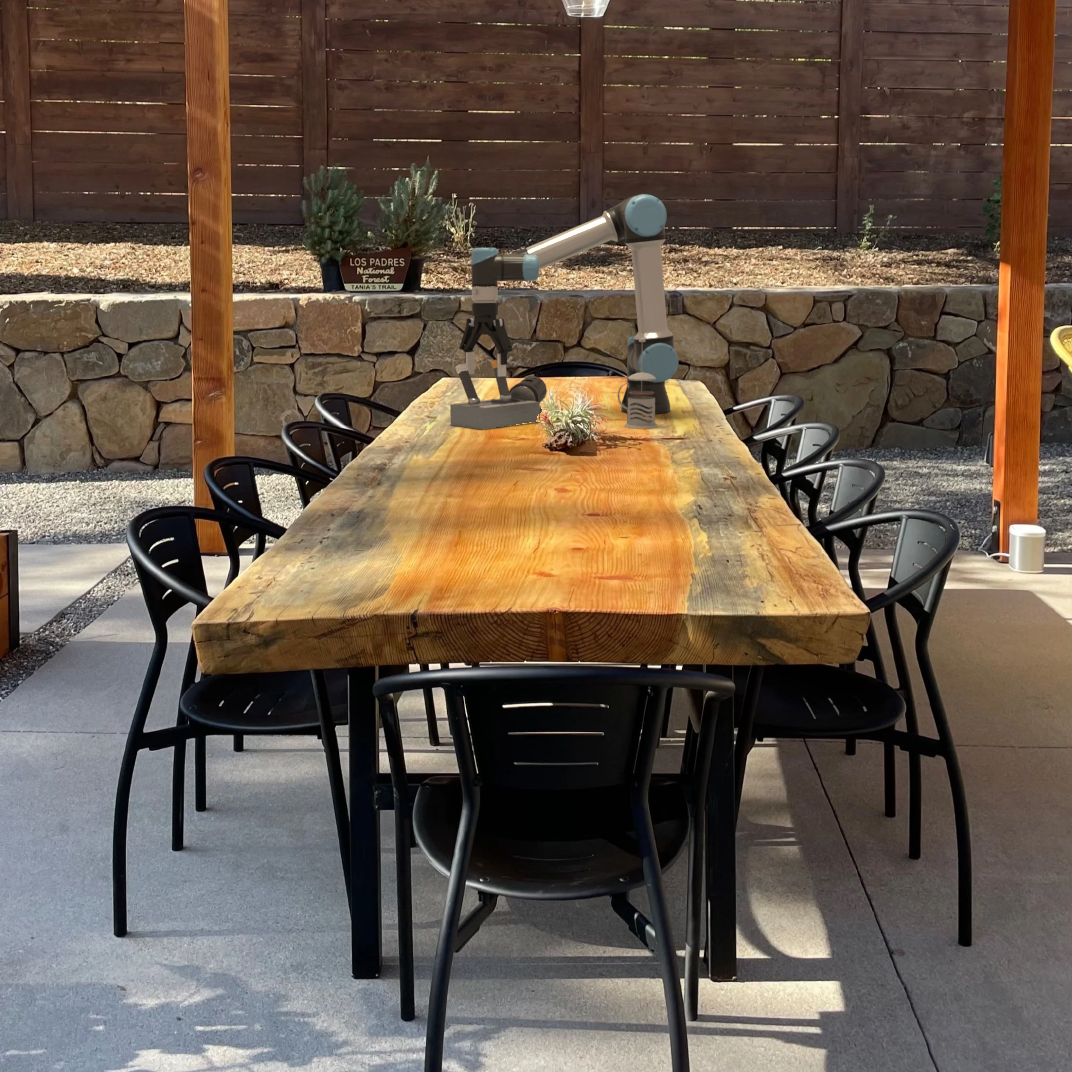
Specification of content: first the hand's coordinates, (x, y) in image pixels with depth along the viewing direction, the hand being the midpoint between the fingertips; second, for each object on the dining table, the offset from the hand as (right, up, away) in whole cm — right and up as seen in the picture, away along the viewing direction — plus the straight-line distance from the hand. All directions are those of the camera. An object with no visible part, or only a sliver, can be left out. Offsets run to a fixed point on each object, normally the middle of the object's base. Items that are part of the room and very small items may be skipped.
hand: (485, 375), depth 398 cm
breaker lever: (+6, -7, -4) cm, 10 cm away
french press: (+44, -16, -11) cm, 48 cm away
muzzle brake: (+12, -9, +20) cm, 26 cm away
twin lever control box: (+3, -14, -5) cm, 16 cm away
